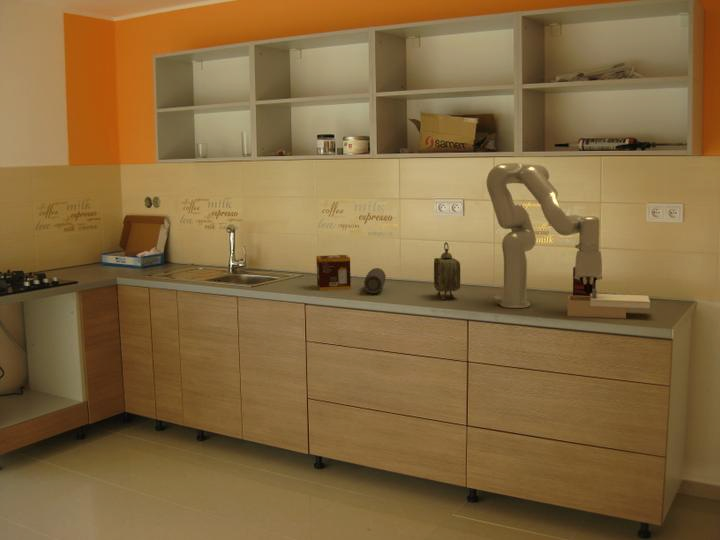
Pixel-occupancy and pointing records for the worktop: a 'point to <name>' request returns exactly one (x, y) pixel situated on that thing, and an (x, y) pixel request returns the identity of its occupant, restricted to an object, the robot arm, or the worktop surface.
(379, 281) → the bluetooth speaker
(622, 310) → the mailer base
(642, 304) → the mailer lid
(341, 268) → the supplement box
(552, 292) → the worktop surface
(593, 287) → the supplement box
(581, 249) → the robot arm
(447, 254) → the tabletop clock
